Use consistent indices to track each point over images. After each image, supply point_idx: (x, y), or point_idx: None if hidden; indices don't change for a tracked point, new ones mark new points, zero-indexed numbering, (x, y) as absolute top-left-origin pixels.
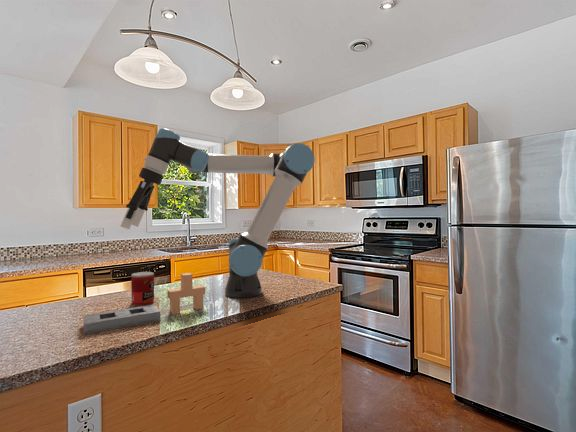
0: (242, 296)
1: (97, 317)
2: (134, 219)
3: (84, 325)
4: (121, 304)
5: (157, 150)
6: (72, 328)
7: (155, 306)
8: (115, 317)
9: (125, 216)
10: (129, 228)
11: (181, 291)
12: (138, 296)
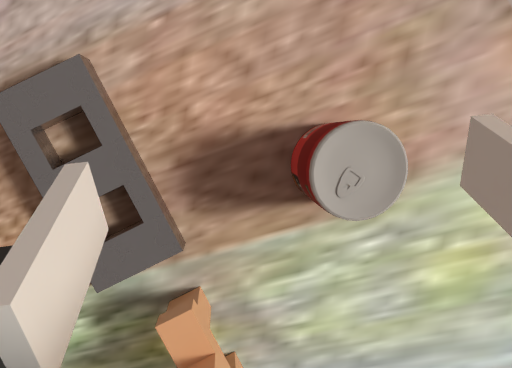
0: None
1: (52, 111)
2: (504, 163)
3: None
4: (315, 89)
5: None
6: (66, 36)
7: (156, 261)
8: (45, 170)
9: (29, 234)
10: (105, 233)
11: (176, 361)
12: (295, 160)
